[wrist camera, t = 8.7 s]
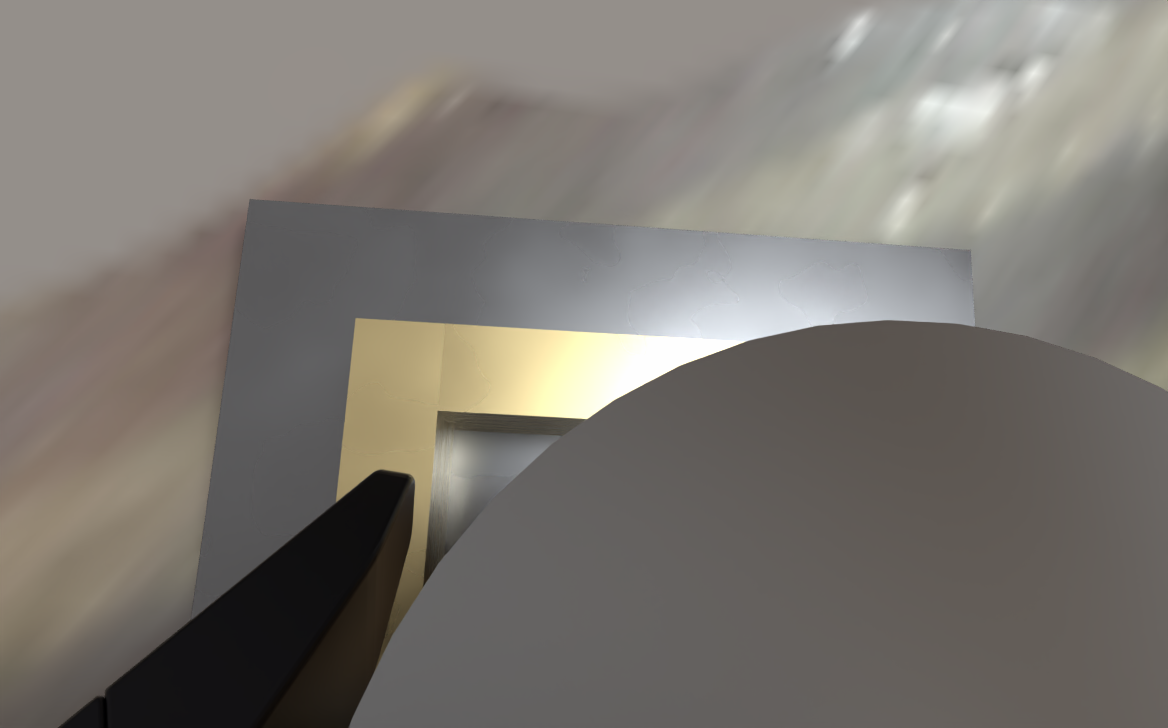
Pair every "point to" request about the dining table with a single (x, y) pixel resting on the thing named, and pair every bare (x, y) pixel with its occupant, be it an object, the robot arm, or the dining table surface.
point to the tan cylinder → (816, 550)
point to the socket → (487, 351)
